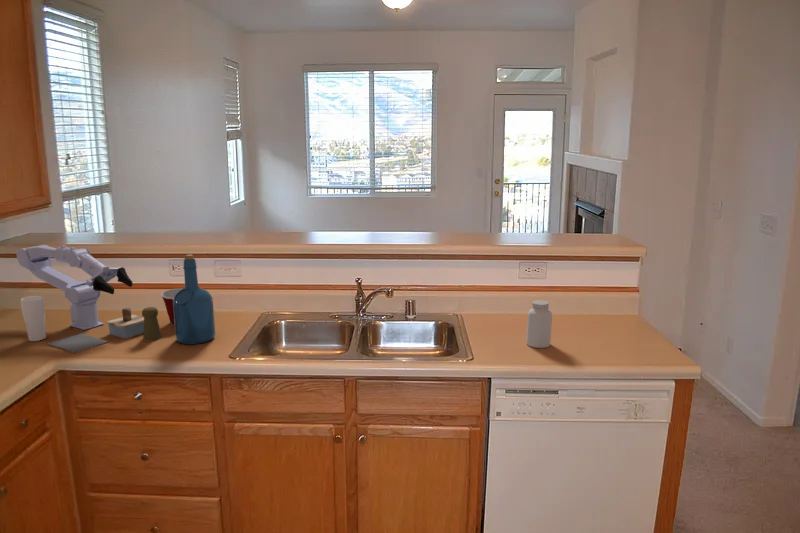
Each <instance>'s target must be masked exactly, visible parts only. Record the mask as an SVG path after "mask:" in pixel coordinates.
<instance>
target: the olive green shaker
mask: <svg viewBox="0 0 800 533" xmlns="http://www.w3.org/2000/svg"><path fill="white" fill-rule="evenodd" d="M141 315H142V316H141V317H144V333H142V335H143V336H142V339H143V341H145V342H146V341H148V342H149V341H150V342H151V341H158V340H160V339H161V338H162V333H161V328H160V324H159V320H158V315H159V310H158V308H157V307H155V306H149V307H145V308H142V311H141Z"/></svg>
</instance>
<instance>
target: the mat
mask: <svg viewBox="0 0 800 533" xmlns="http://www.w3.org/2000/svg"><path fill="white" fill-rule="evenodd" d="M108 343H109V341H108V340H106V339H102V338H97V337H95V336H92V335H89V334H84V333H83V332H82V333H77V334H73V335H70V336H68V337H64V338H60V339H57V340H53V341H51V342H47V343H46V344H47V345H48V344H49V345H48V346H51V345H52V346H51V347H54V346H55V347H54V348H57V347H59V348H58V349H60V348H62V349H61V350H63V349H64V350H63V351H66V350H68V351H67V352H69V351H70V352H69V353H72V352H73V354H77V353H80V352H82V350H83V351H86V350H89V349H92V348H91V347H93V348H95V346H96V347H98V346H101V345H105V344H108ZM85 349H86V350H85ZM79 351H80V352H79ZM76 352H77V353H76Z"/></svg>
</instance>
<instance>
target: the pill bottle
mask: <svg viewBox="0 0 800 533" xmlns="http://www.w3.org/2000/svg"><path fill="white" fill-rule="evenodd" d="M531 305H532V308H530V309H529V310H528V312H527V326H526V339H525V342H526V344H527V345H528V346H529V347H531V348H537V349H545V348H549V347H550V346H551V339H552V338H551V337H552V323H553V322H552V321H553V313H552V311H551V310H550V308H549V306H550V303H549V302H548V301H547V300H543V299H540V300H539V299H536V300H533V301H532V303H531Z"/></svg>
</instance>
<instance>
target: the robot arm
mask: <svg viewBox="0 0 800 533" xmlns="http://www.w3.org/2000/svg"><path fill="white" fill-rule="evenodd" d="M52 258H54V259H55V260H56V262H57V261H58V262H60V263H64V264H69V267H72V268H77V269H81V270H82V271H83V272H85V273H86V274H87V275H89V276H90V278H88V279H86V281H79V280H77V279H74V278H72V277H71V276H68V275H66V274H64V273H63V272H60V271H58V270H56V269H54V268H52V266H53V264H52ZM16 260H17V261H18V264H19V266H20V267H23V268H24V269H26V270H29V272H31V273H32V275H34V276H35V277H36V278H37V279H38V280H42V281H43V282H45V283H47V284H49V285H51V286H53V287H55V288H57V289H59V290H60V291H63V292H64V298H66V299H67V300H68V301H69V302H70V303H71V306H70V309H69V310H70V318H71V323H70V324H69V327H72V328H76V329H80V330H82V331H83V330H84V331H85V330H90V329H92V328H96V327H99V326H102V325H104V324H105V323H104V322H102V321H99V314H98V306H97V305H98V304H97V302H98V301H99V298H100V296H101V292H104V293H108V294H109V295H110V294H111V295H114V294H115V288H114V287H113V286H112V285H110V284H109V283H108V282H110V281H111V280H112V279H114V278H115V277H117V282H118V283H122V284H125V285H126V286H127V287H129V288H132V286H133V281H132V279H131V278H130V276H129V275H128V274H127V271H126V268H125V267H123V266H121V267H110V266H108V265H104V264H103V263H102V262H100V261H99V260H98V259H97V258H94V257H93V256H92V254H91V252H90V250H89V249H88V248H85V247H81V248H76V247H74V246H72V247H68V246H67V245H65V244H64V245H63V244H62V245H61V246H59V247H57V248H56V247H52V246H49V245H47V244H39V245H36V246H35V245H34V246H29V247H25V248H23V247H21V248H19V249H17V251H16Z"/></svg>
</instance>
